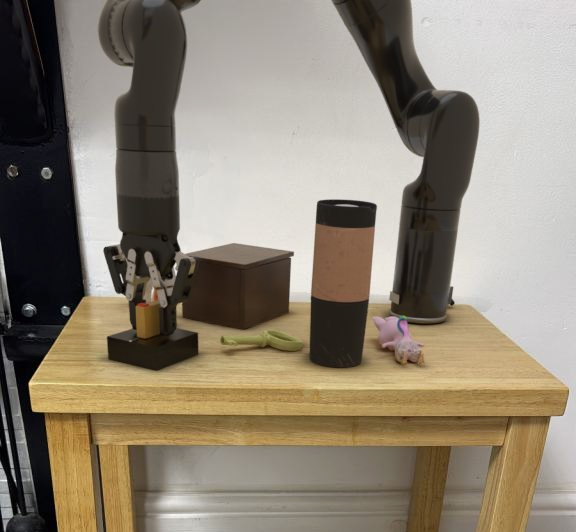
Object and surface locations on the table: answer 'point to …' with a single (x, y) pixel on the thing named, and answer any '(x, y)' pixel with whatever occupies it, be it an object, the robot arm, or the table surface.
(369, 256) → the travel mug
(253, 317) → the box
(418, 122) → the robot arm
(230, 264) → the lockbox lid
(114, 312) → the table surface
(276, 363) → the table surface
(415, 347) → the pink toy animal
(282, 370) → the table surface
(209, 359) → the table surface
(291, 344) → the key
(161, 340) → the plate
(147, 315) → the lock knob
